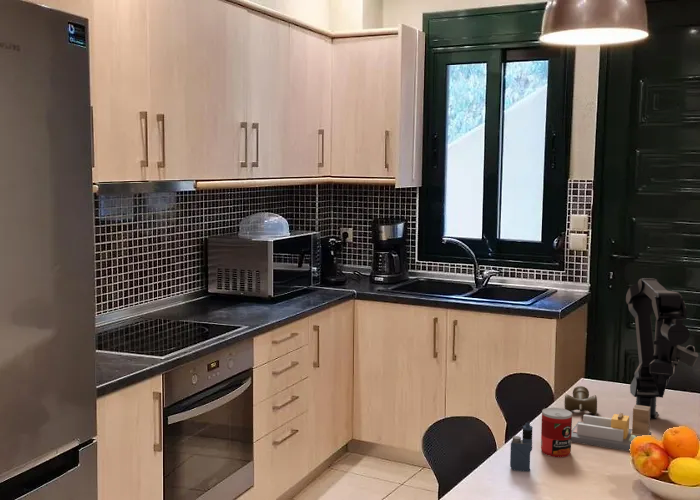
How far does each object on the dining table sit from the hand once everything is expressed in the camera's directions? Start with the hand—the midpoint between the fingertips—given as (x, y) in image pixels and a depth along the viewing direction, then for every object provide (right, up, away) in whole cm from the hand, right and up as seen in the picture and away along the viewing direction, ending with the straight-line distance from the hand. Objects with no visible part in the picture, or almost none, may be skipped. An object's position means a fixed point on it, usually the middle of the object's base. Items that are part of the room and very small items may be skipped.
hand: (663, 390), depth 227 cm
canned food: (-34, -14, -15) cm, 40 cm away
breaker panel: (-17, -13, -5) cm, 21 cm away
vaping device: (-46, -15, -27) cm, 55 cm away
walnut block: (-8, -11, -4) cm, 14 cm away
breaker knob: (-14, -11, -6) cm, 19 cm away
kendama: (-17, -10, +22) cm, 30 cm away
